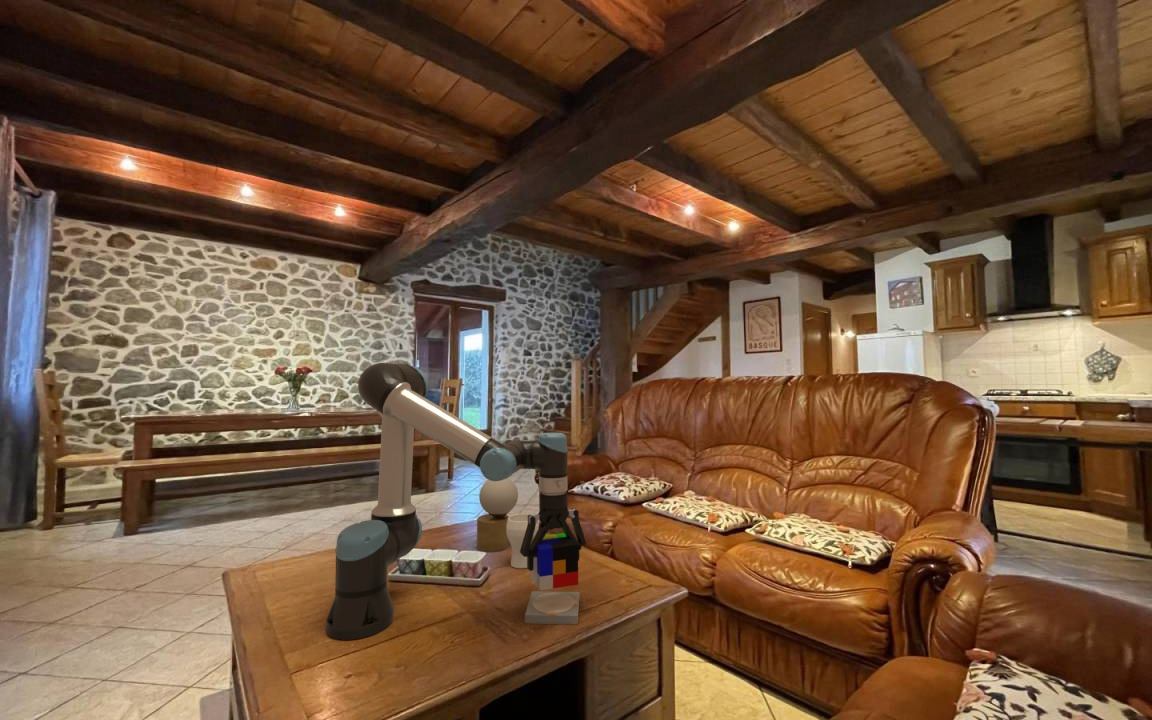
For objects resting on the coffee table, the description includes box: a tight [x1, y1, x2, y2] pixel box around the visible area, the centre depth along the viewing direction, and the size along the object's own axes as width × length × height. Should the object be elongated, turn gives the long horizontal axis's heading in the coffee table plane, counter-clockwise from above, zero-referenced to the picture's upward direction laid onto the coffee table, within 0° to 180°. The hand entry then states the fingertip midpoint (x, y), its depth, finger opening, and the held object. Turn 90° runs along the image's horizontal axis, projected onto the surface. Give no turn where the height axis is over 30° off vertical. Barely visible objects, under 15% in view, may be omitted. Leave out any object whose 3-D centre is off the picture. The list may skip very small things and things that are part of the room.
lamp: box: [476, 477, 519, 553], centre depth 168 cm, size 15×14×25 cm
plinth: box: [524, 590, 580, 625], centre depth 119 cm, size 13×13×2 cm
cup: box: [506, 513, 540, 569], centre depth 151 cm, size 11×11×15 cm
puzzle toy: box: [531, 532, 579, 592], centre depth 119 cm, size 10×10×10 cm
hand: (554, 577), depth 119 cm, fingers closed on puzzle toy, 11 cm apart
